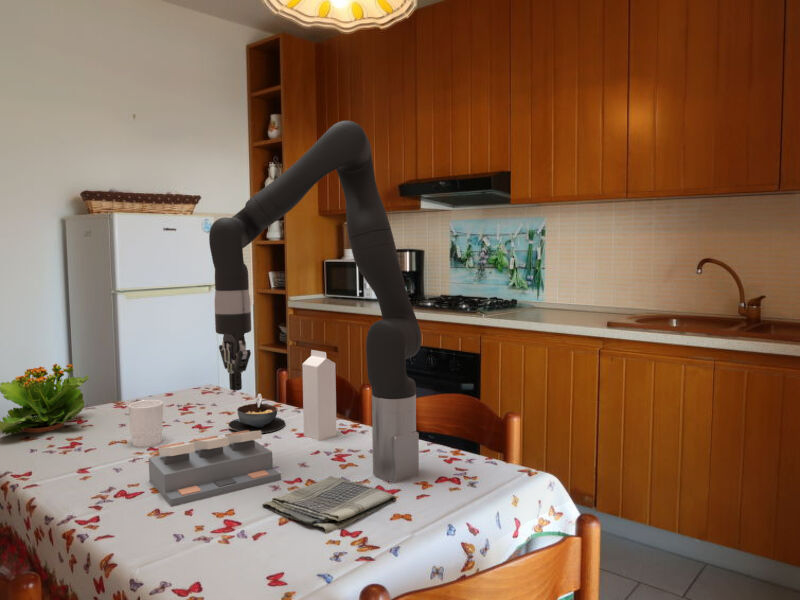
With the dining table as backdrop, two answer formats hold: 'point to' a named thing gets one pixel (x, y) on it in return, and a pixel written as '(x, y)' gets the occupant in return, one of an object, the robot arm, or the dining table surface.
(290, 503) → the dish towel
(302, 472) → the dining table surface
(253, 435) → the block
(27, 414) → the potted flower
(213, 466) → the switch unit
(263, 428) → the soup bowl
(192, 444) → the rocker
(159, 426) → the white cup
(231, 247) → the robot arm
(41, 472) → the dining table surface
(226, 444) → the rocker
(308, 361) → the milk
